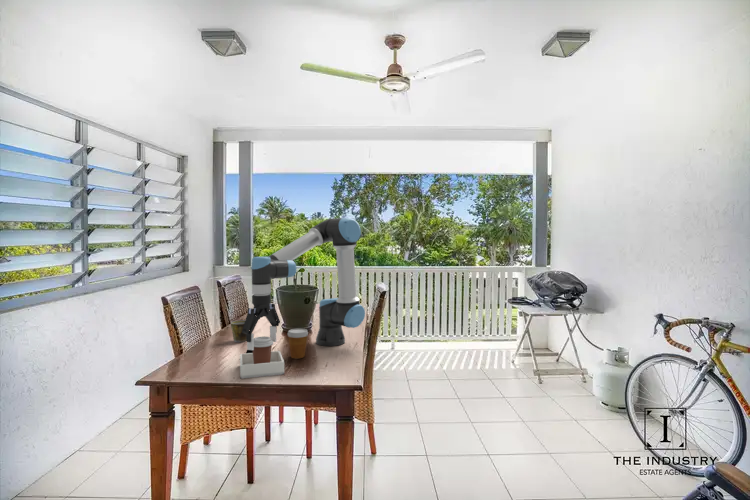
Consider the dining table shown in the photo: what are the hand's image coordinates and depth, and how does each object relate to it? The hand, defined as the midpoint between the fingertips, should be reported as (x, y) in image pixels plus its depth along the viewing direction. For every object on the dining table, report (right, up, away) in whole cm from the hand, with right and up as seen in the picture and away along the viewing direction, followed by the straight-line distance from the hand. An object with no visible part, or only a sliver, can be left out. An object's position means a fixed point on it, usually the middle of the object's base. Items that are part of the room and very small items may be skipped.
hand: (262, 345), depth 165 cm
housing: (0, -10, 0) cm, 10 cm away
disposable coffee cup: (+11, -10, +19) cm, 24 cm away
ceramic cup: (-25, -9, +44) cm, 52 cm away
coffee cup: (0, -9, 0) cm, 9 cm away
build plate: (-9, -10, +16) cm, 21 cm away
